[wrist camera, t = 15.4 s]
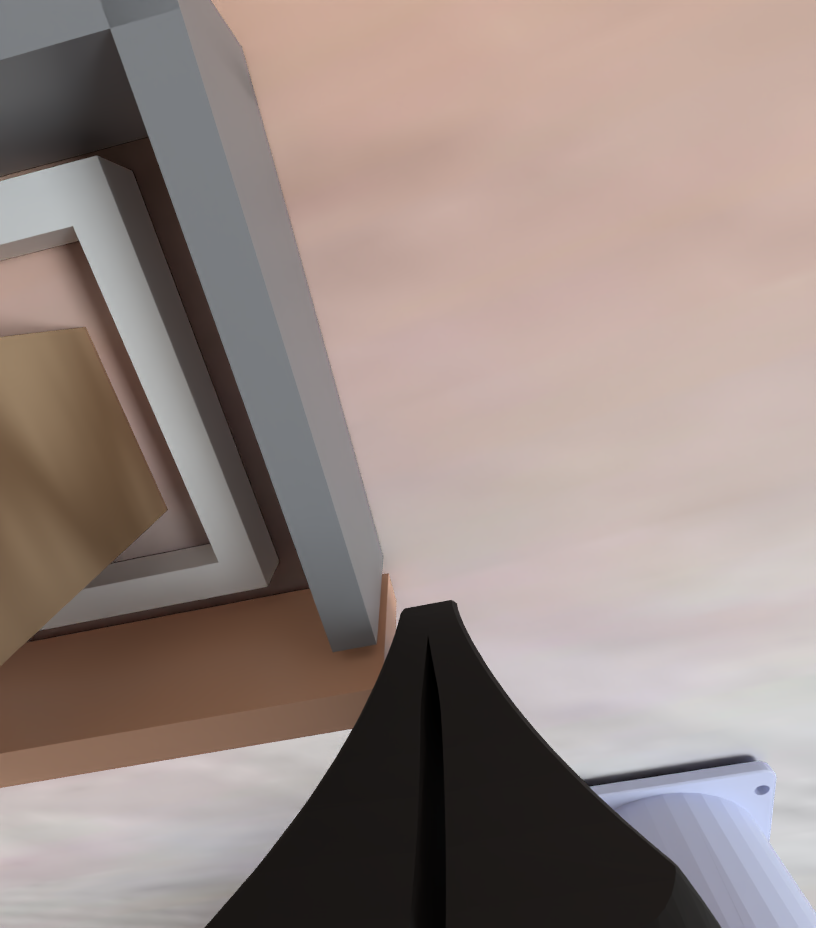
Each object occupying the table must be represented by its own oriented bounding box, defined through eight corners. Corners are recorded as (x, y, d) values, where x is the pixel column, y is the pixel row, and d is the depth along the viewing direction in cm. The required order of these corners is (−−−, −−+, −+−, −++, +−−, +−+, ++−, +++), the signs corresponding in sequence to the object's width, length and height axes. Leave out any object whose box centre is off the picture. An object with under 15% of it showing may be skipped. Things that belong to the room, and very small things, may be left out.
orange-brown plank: (396, 601, 13) (393, 721, 10) (-64, 686, 14) (-226, 825, 11) (388, 573, 13) (382, 686, 9) (-82, 663, 14) (-258, 798, 10)
